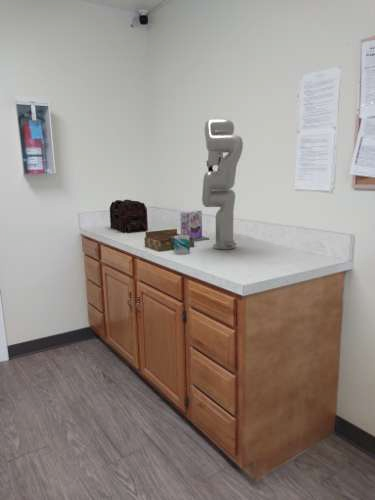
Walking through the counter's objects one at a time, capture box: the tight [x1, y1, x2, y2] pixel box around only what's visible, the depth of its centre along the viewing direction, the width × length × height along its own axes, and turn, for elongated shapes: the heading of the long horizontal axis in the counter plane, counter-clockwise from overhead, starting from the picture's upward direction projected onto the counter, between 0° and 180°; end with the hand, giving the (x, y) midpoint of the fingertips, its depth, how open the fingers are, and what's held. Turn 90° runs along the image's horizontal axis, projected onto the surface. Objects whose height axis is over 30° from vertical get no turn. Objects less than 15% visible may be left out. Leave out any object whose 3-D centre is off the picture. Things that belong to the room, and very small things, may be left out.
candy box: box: [180, 210, 203, 239], centre depth 240 cm, size 14×6×16 cm, turn 140°
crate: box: [109, 199, 149, 234], centre depth 288 cm, size 35×19×21 cm, turn 29°
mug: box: [174, 236, 191, 255], centre depth 207 cm, size 8×12×8 cm
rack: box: [143, 228, 195, 252], centre depth 222 cm, size 18×22×8 cm
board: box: [194, 235, 210, 242], centre depth 242 cm, size 11×19×1 cm, turn 122°
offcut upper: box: [169, 235, 183, 244], centre depth 216 cm, size 3×8×4 cm, turn 137°
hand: (215, 175), depth 240 cm, fingers open, 9 cm apart
